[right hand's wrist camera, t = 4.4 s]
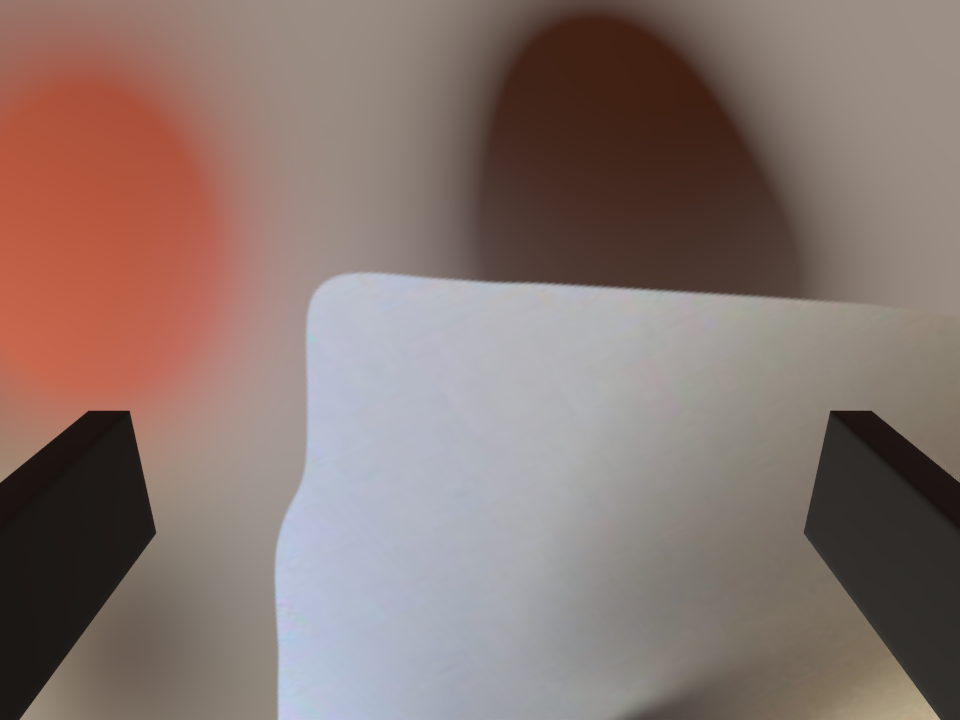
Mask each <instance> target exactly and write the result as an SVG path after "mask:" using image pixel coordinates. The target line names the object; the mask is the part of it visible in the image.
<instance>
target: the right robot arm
mask: <svg viewBox="0 0 960 720" xmlns="http://www.w3.org/2000/svg"><path fill="white" fill-rule="evenodd" d="M155 534H156V530H155V525H154V521H153V516H152V511H151V507H150V502H149V498H148V493H147V488H146V484H145V479H144V475H143V470H142V466H141V461H140V456H139V452H138V447H137V443H136V438H135V433H134V429H133V424H132V420H131V415H130V411H88V412H87V413H85V414H84V415H83V416H82V417H80V418H79V419H78V420H77V421H76V422H74V423H73V424H72V425H71V426H69V427H68V428H67V429H66V430H65V431H63V432H62V433H61V434H60V435H58V436H57V437H56V438H55V439H54V440H52V441H51V442H50V443H49V444H47V445H46V446H45V447H44V448H42V449H41V450H40V451H39V452H38V453H36V454H35V455H34V456H33V457H31V458H30V459H29V460H28V461H27V462H25V463H24V464H23V465H22V466H20V467H19V468H18V469H17V470H15V471H14V472H13V473H12V474H11V475H9V476H8V477H7V478H6V479H4V480H3V481H2V482H1V483H0V720H20V718H21V717H22V715H23V714H24V713H25V711H26V710H27V709H28V707H29V706H30V705H31V703H32V702H33V700H34V699H35V698H36V696H37V695H38V694H39V692H40V691H41V690H42V688H43V687H44V685H45V684H46V683H47V681H48V680H49V679H50V677H51V676H52V675H53V673H54V672H55V670H56V669H57V668H58V666H59V665H60V664H61V662H62V661H63V660H64V658H65V657H66V655H67V654H68V653H69V651H70V650H71V649H72V647H73V646H74V645H75V643H76V642H77V640H78V639H79V638H80V636H81V635H82V634H83V632H84V631H85V629H86V628H87V627H88V625H89V624H90V623H91V621H92V620H93V619H94V617H95V616H96V615H97V613H98V612H99V610H100V609H101V608H102V606H103V605H104V604H105V602H106V601H107V600H108V598H109V597H110V595H111V594H112V593H113V591H114V590H115V589H116V587H117V586H118V585H119V583H120V582H121V580H122V579H123V578H124V576H125V575H126V574H127V572H128V571H129V570H130V568H131V567H132V565H133V564H134V563H135V561H136V560H137V559H138V557H139V556H140V555H141V553H142V552H143V550H144V549H145V548H146V546H147V545H148V544H149V542H150V541H151V539H152V538H153V537H154V535H155ZM804 534H805V535H806V537H807V538H808V540H809V541H810V542H811V544H812V545H813V546H814V548H815V549H816V550H817V552H818V553H819V555H820V556H821V557H822V559H823V560H824V561H825V563H826V564H827V565H828V567H829V568H830V570H831V571H832V572H833V574H834V575H835V576H836V578H837V579H838V580H839V582H840V583H841V585H842V586H843V587H844V589H845V590H846V591H847V593H848V594H849V595H850V597H851V598H852V600H853V601H854V602H855V604H856V605H857V606H858V608H859V609H860V610H861V612H862V613H863V615H864V616H865V617H866V619H867V620H868V621H869V623H870V624H871V625H872V627H873V628H874V630H875V631H876V632H877V634H878V635H879V636H880V638H881V639H882V640H883V642H884V643H885V645H886V646H887V647H888V649H889V650H890V651H891V653H892V654H893V655H894V657H895V658H896V660H897V661H898V662H899V664H900V665H901V666H902V668H903V669H904V670H905V672H906V673H907V675H908V676H909V677H910V679H911V680H912V681H913V683H914V684H915V685H916V687H917V688H918V690H919V691H920V692H921V694H922V695H923V696H924V698H925V699H926V700H927V702H928V703H929V705H930V706H931V707H932V709H933V710H934V711H935V713H936V714H937V715H938V717H939V718H940V720H960V483H959V482H958V481H957V480H956V479H954V478H953V477H952V476H951V475H949V474H948V473H947V472H946V471H945V470H943V469H942V468H941V467H940V466H938V465H937V464H936V463H935V462H933V461H932V460H931V459H930V458H929V457H927V456H926V455H925V454H924V453H922V452H921V451H920V450H919V449H918V448H916V447H915V446H914V445H913V444H911V443H910V442H909V441H908V440H907V439H905V438H904V437H903V436H902V435H900V434H899V433H898V432H897V431H895V430H894V429H893V428H892V427H891V426H889V425H888V424H887V423H886V422H884V421H883V420H882V419H881V418H880V417H878V416H877V415H876V414H875V413H873V412H872V411H830V415H829V420H828V424H827V429H826V433H825V438H824V443H823V447H822V452H821V456H820V461H819V466H818V470H817V475H816V479H815V484H814V488H813V493H812V498H811V502H810V507H809V511H808V516H807V521H806V525H805V530H804Z"/></svg>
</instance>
